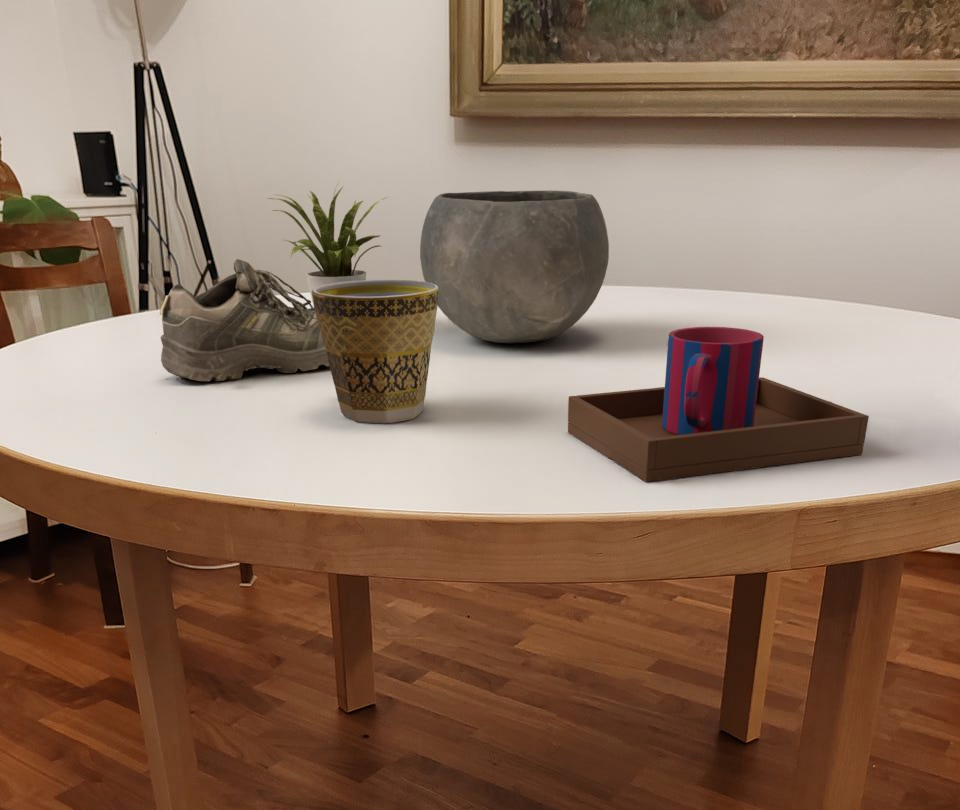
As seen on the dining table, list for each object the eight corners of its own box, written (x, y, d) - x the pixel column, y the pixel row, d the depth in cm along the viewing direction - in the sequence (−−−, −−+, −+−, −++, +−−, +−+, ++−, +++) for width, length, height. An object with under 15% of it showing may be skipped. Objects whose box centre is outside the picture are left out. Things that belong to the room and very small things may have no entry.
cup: (763, 422, 75) (774, 330, 72) (722, 457, 67) (732, 355, 64) (680, 412, 78) (687, 323, 75) (631, 444, 70) (637, 346, 67)
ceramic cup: (464, 416, 81) (461, 289, 76) (354, 436, 76) (344, 301, 71) (391, 387, 91) (385, 272, 86) (290, 402, 86) (277, 282, 81)
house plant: (246, 334, 116) (228, 182, 108) (308, 315, 127) (295, 176, 120) (352, 341, 111) (341, 182, 103) (407, 321, 122) (400, 176, 115)
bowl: (397, 353, 104) (389, 199, 98) (456, 321, 122) (453, 188, 115) (585, 362, 99) (591, 199, 92) (619, 327, 117) (626, 188, 110)
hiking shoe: (390, 342, 98) (345, 227, 97) (191, 395, 89) (139, 268, 88) (360, 374, 106) (318, 268, 105) (175, 425, 97) (127, 310, 96)
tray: (758, 411, 81) (763, 377, 80) (862, 454, 70) (869, 415, 69) (567, 432, 76) (568, 396, 75) (645, 482, 65) (648, 440, 64)
